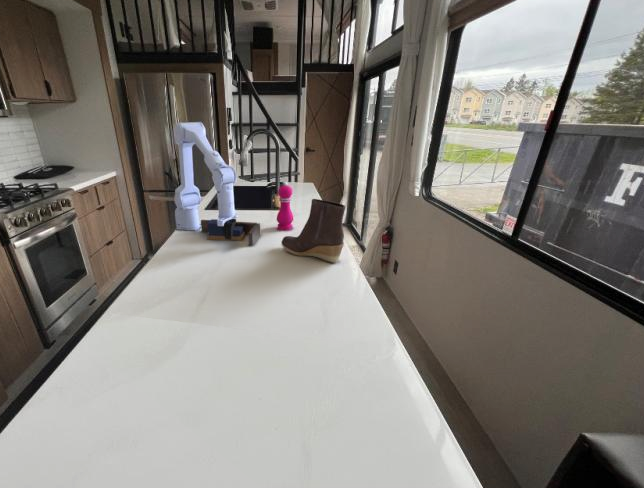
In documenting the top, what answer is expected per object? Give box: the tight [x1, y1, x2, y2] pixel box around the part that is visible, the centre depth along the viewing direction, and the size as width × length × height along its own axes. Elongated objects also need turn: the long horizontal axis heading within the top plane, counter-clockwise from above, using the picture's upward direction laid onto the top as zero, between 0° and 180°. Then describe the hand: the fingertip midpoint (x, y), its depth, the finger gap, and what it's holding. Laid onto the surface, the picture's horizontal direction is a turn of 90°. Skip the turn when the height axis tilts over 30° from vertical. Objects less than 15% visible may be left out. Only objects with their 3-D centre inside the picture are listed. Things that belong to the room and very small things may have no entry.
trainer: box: [206, 218, 246, 241], centre depth 130 cm, size 14×6×6 cm, turn 82°
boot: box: [281, 198, 347, 264], centre depth 110 cm, size 9×24×20 cm, turn 53°
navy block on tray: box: [200, 219, 261, 247], centre depth 130 cm, size 26×13×5 cm, turn 78°
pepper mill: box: [276, 181, 294, 232], centre depth 136 cm, size 7×7×20 cm
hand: (228, 238), depth 121 cm, fingers closed
